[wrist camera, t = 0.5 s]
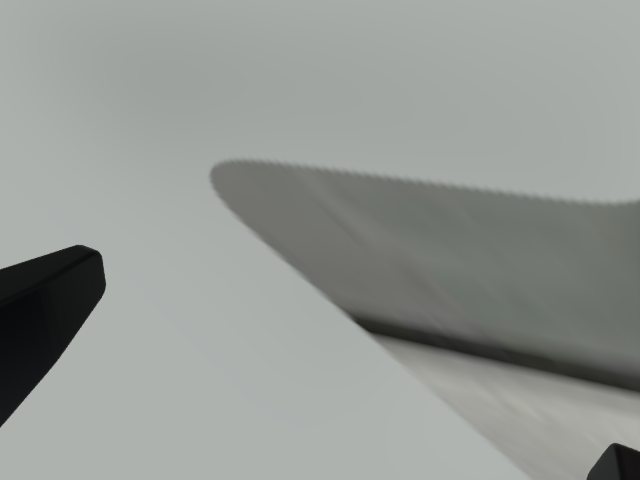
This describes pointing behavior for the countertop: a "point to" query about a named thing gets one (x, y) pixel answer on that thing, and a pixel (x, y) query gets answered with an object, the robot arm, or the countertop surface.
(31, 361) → the robot arm
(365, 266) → the countertop surface
